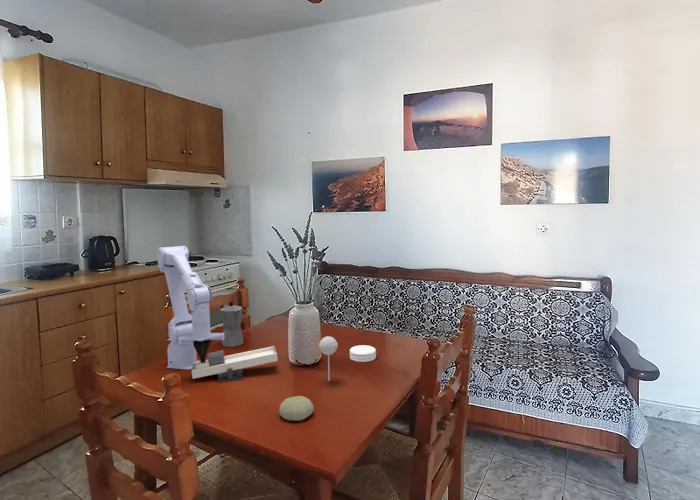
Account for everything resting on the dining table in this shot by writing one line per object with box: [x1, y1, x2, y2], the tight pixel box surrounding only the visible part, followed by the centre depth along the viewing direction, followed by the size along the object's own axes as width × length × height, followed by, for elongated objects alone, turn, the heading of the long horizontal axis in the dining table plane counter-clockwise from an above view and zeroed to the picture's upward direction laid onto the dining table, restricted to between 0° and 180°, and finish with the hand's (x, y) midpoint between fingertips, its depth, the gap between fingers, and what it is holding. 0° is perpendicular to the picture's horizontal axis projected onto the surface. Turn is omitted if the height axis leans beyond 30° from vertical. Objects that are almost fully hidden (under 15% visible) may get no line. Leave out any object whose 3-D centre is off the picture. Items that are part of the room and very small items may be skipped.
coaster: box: [349, 344, 377, 363], centre depth 166 cm, size 10×10×4 cm
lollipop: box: [318, 335, 339, 382], centre depth 143 cm, size 6×6×15 cm
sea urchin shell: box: [278, 395, 314, 422], centre depth 121 cm, size 9×8×8 cm
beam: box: [191, 345, 278, 380], centre depth 151 cm, size 28×8×3 cm, turn 105°
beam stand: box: [217, 368, 244, 383], centre depth 151 cm, size 8×12×4 cm, turn 16°
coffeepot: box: [219, 301, 245, 348], centre depth 184 cm, size 15×9×18 cm, turn 44°
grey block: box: [207, 349, 225, 367], centre depth 149 cm, size 5×5×4 cm
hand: (203, 361), depth 148 cm, fingers closed
